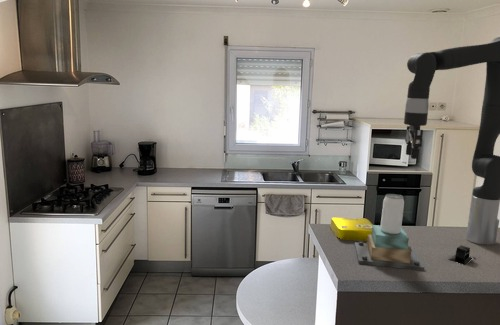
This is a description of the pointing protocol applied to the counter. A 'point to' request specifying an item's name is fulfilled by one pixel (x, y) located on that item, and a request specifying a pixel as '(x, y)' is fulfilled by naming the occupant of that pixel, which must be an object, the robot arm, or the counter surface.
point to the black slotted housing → (461, 255)
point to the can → (392, 214)
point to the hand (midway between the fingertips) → (411, 156)
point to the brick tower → (388, 250)
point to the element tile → (351, 228)
